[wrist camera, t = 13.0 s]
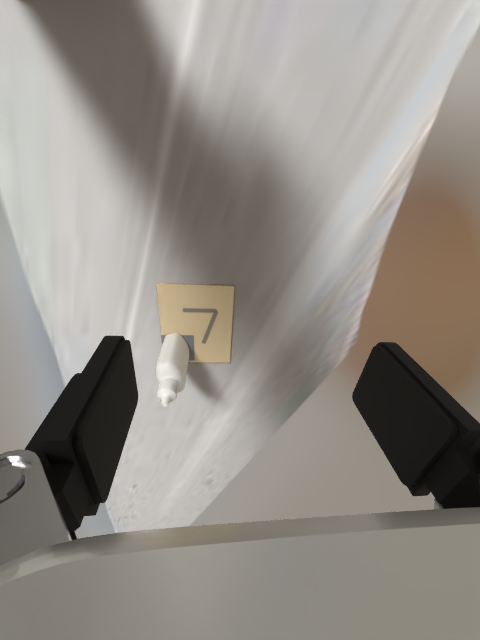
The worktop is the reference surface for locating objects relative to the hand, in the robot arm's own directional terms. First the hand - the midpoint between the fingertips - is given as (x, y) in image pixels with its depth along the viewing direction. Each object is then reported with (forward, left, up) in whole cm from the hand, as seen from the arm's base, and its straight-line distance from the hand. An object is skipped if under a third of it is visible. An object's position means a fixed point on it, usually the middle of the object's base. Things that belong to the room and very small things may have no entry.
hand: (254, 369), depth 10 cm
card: (+15, -4, -27) cm, 31 cm away
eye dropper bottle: (+18, -7, -27) cm, 34 cm away
